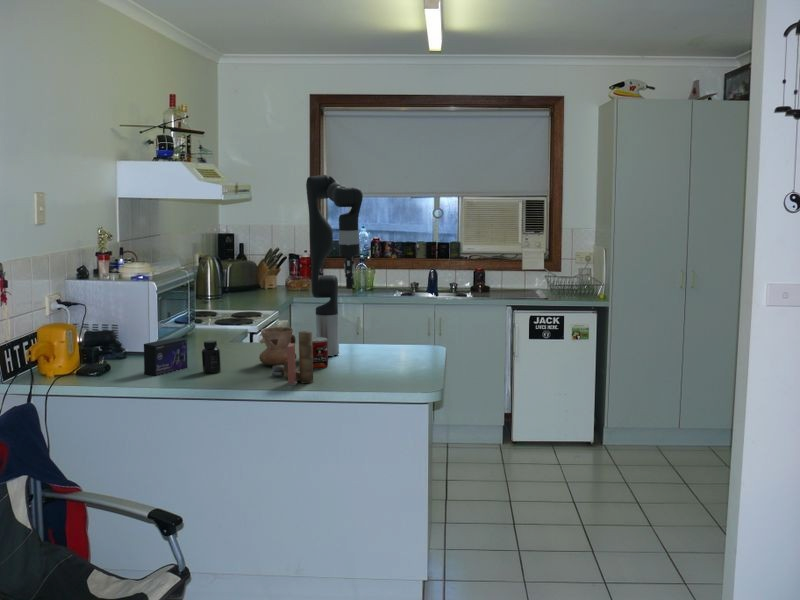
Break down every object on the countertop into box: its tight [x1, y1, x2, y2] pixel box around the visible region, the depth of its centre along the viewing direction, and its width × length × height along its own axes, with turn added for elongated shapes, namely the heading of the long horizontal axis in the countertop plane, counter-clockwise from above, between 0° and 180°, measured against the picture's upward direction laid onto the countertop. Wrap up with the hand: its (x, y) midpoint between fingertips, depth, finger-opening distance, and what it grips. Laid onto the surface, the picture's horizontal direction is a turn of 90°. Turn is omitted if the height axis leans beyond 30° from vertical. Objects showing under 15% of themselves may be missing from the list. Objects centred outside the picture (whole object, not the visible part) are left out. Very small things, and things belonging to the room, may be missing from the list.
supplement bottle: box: [201, 339, 222, 375], centre depth 340 cm, size 7×7×12 cm
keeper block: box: [286, 342, 298, 387], centre depth 319 cm, size 7×3×14 cm, turn 0°
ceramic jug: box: [259, 326, 297, 367], centre depth 352 cm, size 18×14×14 cm
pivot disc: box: [271, 369, 285, 378], centre depth 332 cm, size 6×6×2 cm
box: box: [143, 336, 188, 376], centre depth 343 cm, size 17×7×12 cm, turn 149°
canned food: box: [312, 336, 329, 369], centre depth 347 cm, size 8×8×11 cm
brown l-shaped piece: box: [272, 330, 314, 384], centre depth 326 cm, size 5×21×18 cm, turn 44°
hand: (350, 287), depth 326 cm, fingers open, 8 cm apart
